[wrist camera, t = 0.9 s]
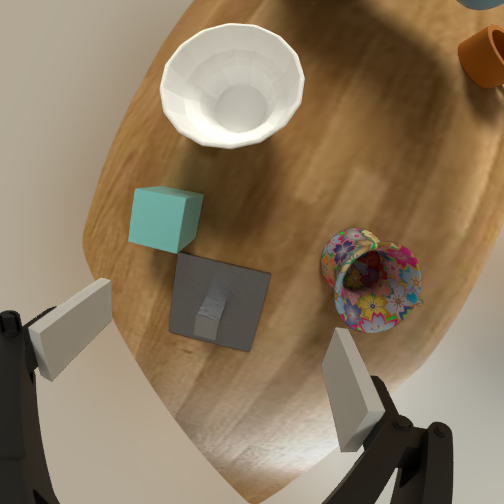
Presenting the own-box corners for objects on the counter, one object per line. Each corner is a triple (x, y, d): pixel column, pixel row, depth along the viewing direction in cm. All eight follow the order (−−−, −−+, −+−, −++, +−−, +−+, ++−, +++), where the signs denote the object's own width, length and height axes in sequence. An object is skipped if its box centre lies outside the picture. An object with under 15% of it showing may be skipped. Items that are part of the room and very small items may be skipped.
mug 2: (503, 110, 26) (537, 105, 18) (454, 66, 26) (486, 49, 17) (506, 75, 24) (537, 65, 15) (459, 32, 23) (487, 13, 15)
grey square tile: (179, 251, 35) (161, 266, 29) (270, 273, 35) (270, 293, 29) (169, 329, 38) (153, 353, 32) (249, 349, 38) (246, 378, 32)
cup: (172, 116, 31) (132, 93, 20) (240, 49, 28) (229, 3, 18) (243, 180, 33) (231, 180, 22) (315, 109, 30) (335, 79, 19)
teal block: (162, 185, 33) (135, 188, 26) (204, 194, 33) (186, 198, 26) (155, 228, 35) (128, 241, 27) (195, 238, 35) (176, 253, 27)
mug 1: (304, 279, 35) (317, 318, 25) (334, 211, 33) (361, 226, 23) (380, 307, 36) (411, 348, 25) (409, 247, 33) (452, 272, 23)
